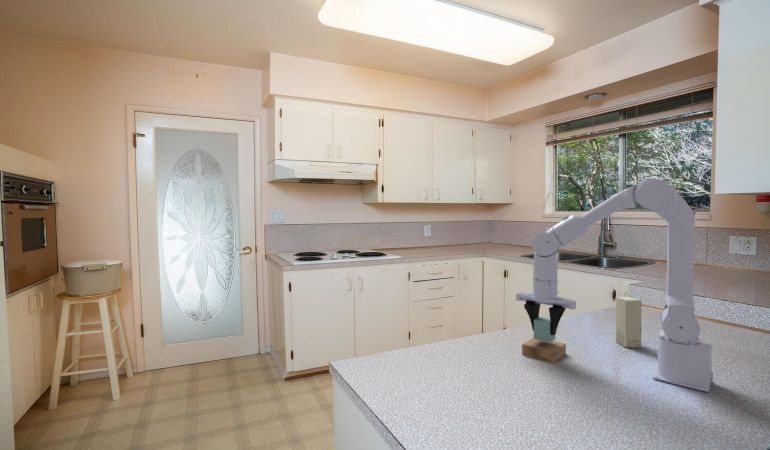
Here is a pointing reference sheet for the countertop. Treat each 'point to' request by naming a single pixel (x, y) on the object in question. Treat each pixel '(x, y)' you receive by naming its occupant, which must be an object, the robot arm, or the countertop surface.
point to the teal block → (543, 330)
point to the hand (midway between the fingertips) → (544, 332)
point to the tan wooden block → (544, 349)
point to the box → (628, 321)
